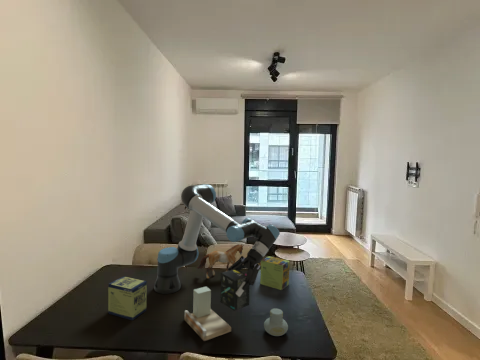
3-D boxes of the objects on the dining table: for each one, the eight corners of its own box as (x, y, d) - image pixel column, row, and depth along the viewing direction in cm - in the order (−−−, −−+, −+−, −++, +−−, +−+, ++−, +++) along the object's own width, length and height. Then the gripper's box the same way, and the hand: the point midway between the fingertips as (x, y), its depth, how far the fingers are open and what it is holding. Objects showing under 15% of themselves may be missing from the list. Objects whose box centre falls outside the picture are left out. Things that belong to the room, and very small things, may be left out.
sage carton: (193, 313, 148) (193, 289, 147) (205, 309, 152) (206, 286, 151) (197, 317, 144) (198, 293, 143) (210, 313, 148) (211, 290, 147)
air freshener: (285, 327, 142) (286, 307, 142) (289, 337, 134) (290, 316, 133) (262, 326, 142) (263, 306, 141) (264, 337, 134) (265, 316, 133)
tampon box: (249, 305, 142) (250, 275, 140) (234, 311, 136) (235, 280, 135) (235, 296, 150) (235, 268, 149) (220, 301, 144) (220, 272, 143)
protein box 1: (133, 320, 144) (133, 289, 142) (107, 313, 149) (107, 283, 148) (147, 310, 153) (147, 281, 152) (122, 304, 159) (122, 275, 158)
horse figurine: (242, 272, 207) (243, 243, 205) (244, 277, 199) (245, 246, 198) (196, 275, 200) (197, 244, 198) (197, 280, 193) (198, 248, 191)
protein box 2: (282, 290, 181) (283, 265, 180) (259, 284, 189) (260, 260, 188) (289, 284, 190) (290, 260, 189) (267, 278, 198) (268, 255, 197)
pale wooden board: (184, 319, 146) (184, 310, 146) (209, 311, 154) (210, 303, 154) (203, 341, 130) (203, 331, 129) (231, 331, 138) (231, 321, 137)
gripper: (239, 241, 156) (212, 276, 149) (269, 255, 137) (240, 296, 129) (247, 250, 160) (221, 284, 152) (277, 264, 140) (249, 304, 133)
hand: (230, 290), depth 141 cm, fingers closed on tampon box, 11 cm apart
